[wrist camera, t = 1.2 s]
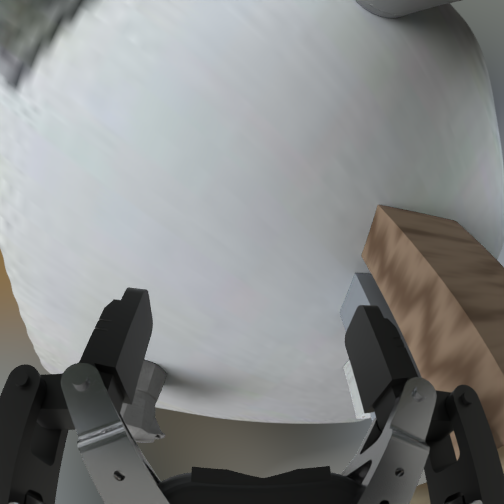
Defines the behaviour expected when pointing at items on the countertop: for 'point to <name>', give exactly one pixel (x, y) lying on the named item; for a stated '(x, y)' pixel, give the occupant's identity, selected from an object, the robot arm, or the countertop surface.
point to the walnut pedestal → (443, 303)
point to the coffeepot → (145, 404)
